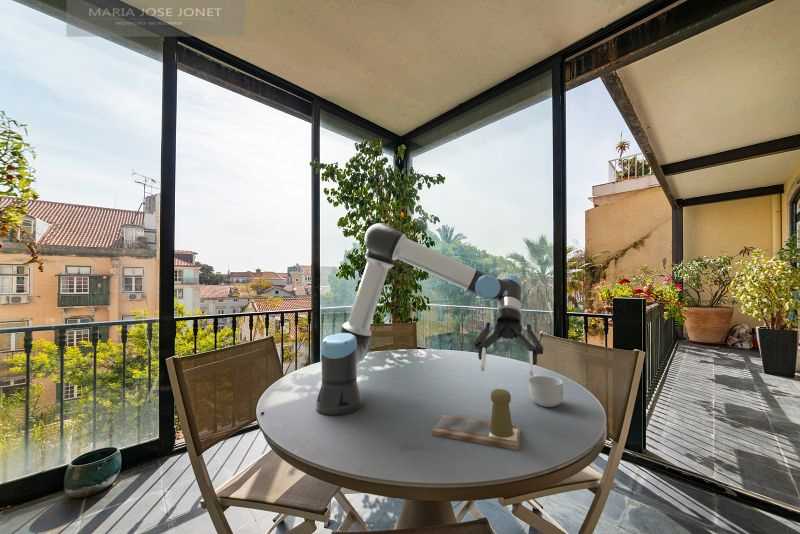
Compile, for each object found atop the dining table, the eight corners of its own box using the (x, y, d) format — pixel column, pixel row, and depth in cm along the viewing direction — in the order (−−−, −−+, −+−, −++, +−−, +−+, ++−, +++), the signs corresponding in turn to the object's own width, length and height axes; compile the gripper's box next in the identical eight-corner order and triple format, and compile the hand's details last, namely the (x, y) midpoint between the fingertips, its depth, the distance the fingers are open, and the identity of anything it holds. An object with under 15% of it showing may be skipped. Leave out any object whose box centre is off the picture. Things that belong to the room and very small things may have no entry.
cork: (514, 429, 87) (513, 388, 87) (512, 439, 81) (511, 395, 82) (491, 425, 89) (490, 385, 90) (488, 434, 84) (487, 392, 84)
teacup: (568, 411, 101) (567, 385, 101) (531, 409, 103) (531, 384, 104) (556, 395, 115) (555, 373, 115) (524, 393, 117) (523, 371, 117)
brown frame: (432, 435, 87) (432, 430, 87) (443, 418, 97) (443, 414, 97) (518, 450, 78) (518, 445, 78) (520, 430, 89) (520, 426, 89)
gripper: (549, 322, 105) (553, 382, 91) (473, 319, 115) (465, 373, 100) (549, 307, 100) (553, 368, 86) (470, 305, 110) (461, 360, 95)
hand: (506, 371), depth 93 cm, fingers open, 13 cm apart
